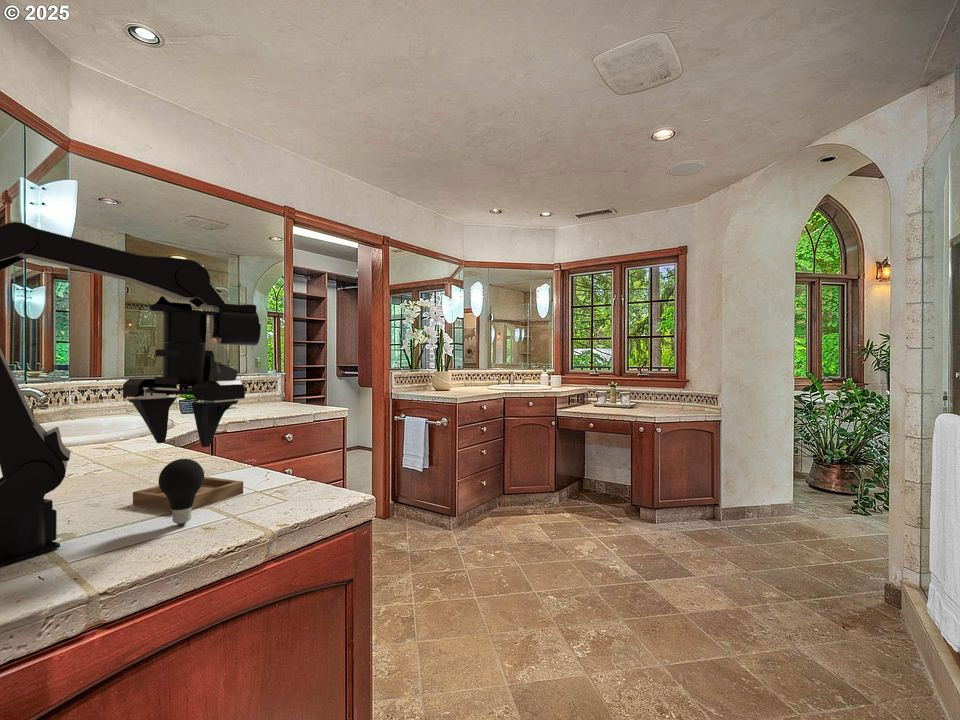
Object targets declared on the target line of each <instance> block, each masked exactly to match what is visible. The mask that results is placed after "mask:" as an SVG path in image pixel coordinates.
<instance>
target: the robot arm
mask: <svg viewBox="0 0 960 720" xmlns="http://www.w3.org/2000/svg"><path fill="white" fill-rule="evenodd" d="M27 259H31V260H34V261H40V262H44V263H48V264H52V265H57V266H62V267H64V268H65V267H66V268H70V269H75V270H78V271H84V272H88V273H90V274H91V273H92V274H97V275H102V276H106V277H109V278H113V279H114V278H115V279H118V280H123V281H128V282H131V283H134V284H137V285H139V286H142V287H144V288H146V289H147V290H151V291H153V292H154V293H157V294H160V295H161V296H159V297H158V299H157V300H156V302H155V303H154V304H151V305H150V306H148V307H147V309H146V311H147V312H149V313H151V314H153V313H155V314H162V346H161V347H162V349H155V350H154V351H155V353H154V355H155V357H162V359H161V360H162V361H161V362H162V363H161V376H154V377H137V378H136V377H135V378H128V379H127V380H126V381H125V382H124V383H123V384H122V397H127V398H129V397H130V398H129V399H128V402H129V403H131V404H132V405H133V406H134V407H135V409H136V410H137V412H138V413H139V415H140V417H141V418H142V419H143V421H144V423H145V424H146V426H147V428H148V431H150V433H151V435H152V437H153V438H154V440H155V443H157V444H164V443H166V439H167V434H168V425H169V424H168V423H169V414H170V413H169V412H170V408H171V406H172V405H173V404H174V403H175V401H176V400H177V398H178V397H177V396H173V395H185V396H187V395H188V396H193V397H194V398H195V400H196V402H195V401H194V402H192V403H191V407H192V411H193V416H194V420H195V425H196V429H197V434H198V435H197V436H198V439H199V442H200V446H201V448H209V447H210V446H211V444H212V443H213V439H214V438H215V437H214V436H215V434H216V432H217V430H218V426H219V425H220V424H219V423H220V422H221V420H222V417H223V416H224V413H225V412H226V411H227V410H229V409H230V407H232V406H233V405H237V404H238V403H239V400H241V399H246V385H245V384H244V382H242V381H241V380H238V379H237V376H238V373H239V370H237V369H235V368H233V367H231V366H228V365H226V364H224V363H221V362H218V361H215V354H214V352H213V350H207V328H208V333H209V338H210V339H214V340H216V343H217V345H221V346H222V345H227V346H228V345H229V346H253V347H254V346H257V345H258V343H259V341H260V338H261V331H262V330H261V329H262V328H261V327H262V326H261V325H262V324H261V323H260V319H259V314H258V312H257V305H256V304H249V303H248V304H234V303H233V304H232V303H226V302H225V301H224V300H223V299H222V297H221V296H220V295H219V294H218V291H216V289H215V288H214V286H213V285H212V284H211V277H210V274H209V271H208V270H207V269H206V268H205V266H204V265H203V264H202V263H200V262H198V261H195V260H192V259H186V258H180V257H179V258H178V257H172V256H154V255H153V256H151V255H142V254H137V253H132V252H129V251H124V250H120V249H118V248H117V249H116V248H114V247H109V246H105V245H102V244H97V243H94V242H90V241H86V240H82V239H78V238H74V237H71V236H67V235H63V234H59V233H56V232H52V231H47V230H43V229H39V228H36V227H33V226H31V225H29V224H27V223H24V222H20V221H19V222H18V221H13V222H7V223H5V224H3V225H1V226H0V272H1V271H2V272H3V270H6V269H8V268H9V267H12V266H14V265H15V264H18V263H20V262H22V261H26V260H27ZM166 297H168V298H170V299H173V300H176V301H180V302H174V301H173V302H172V301H169V300H167V298H166ZM181 301H182V302H181ZM185 302H189V303H185ZM192 306H195V307H196V308H197V309H193V307H192ZM198 309H199V310H198ZM205 310H207V311H205ZM207 317H209V321H207V320H208V318H207ZM207 323H208V324H207ZM207 325H208V327H207ZM178 386H179V387H178ZM197 401H198V402H197ZM71 453H72V452H71V450H70V449H68V448H67V447H66V446H65V443H63V440H62V436H61V432H60V427H58V426H56V427H54V428H52V429H49V430H48V431H46V430H45V428H43V426H41V424H40V423H39V422H38V421H37V420H36V418H35V416H34V414H33V412H32V410H31V408H30V406H29V404H28V402H27V400H26V399H25V396H24V394H23V392H22V390H21V387H20V386H19V384H18V382H17V379H16V378H15V375H14V373H13V371H12V369H11V368H10V365H9V363H8V361H7V359H6V357H5V355H4V352H3V350H2V349H1V347H0V471H1V475H2V476H1V477H0V567H2V566H6V565H8V564H12V563H15V562H18V561H22V560H23V559H28V558H30V557H34V556H37V555H40V554H43V553H47V552H49V551H52V550H55V549H59V548H60V547H61V542H56V540H57V538H58V537H57V530H58V529H57V526H58V525H57V522H58V520H57V519H58V518H57V517H58V514H57V510H56V509H54V508H53V507H54V506H53V500H52V499H48V498H45V496H46V495H47V494H48V493H51V492H52V491H54V490H55V489H57V487H59V486H60V485H61V483H62V482H63V481H64V479H65V476H66V473H67V472H66V471H67V466H68V462H69V461H70V459H71Z"/></svg>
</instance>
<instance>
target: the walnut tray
mask: <svg viewBox="0 0 960 720" xmlns="http://www.w3.org/2000/svg"><path fill="white" fill-rule="evenodd" d="M242 494H244V481H242V480H235V479H227V478H218V477H209V476H204V482H203V484H202V486H201V487H200V489H199V490H198V492H197V493H196V495H195V498H194V503H193V506H192V508H191V511H193V510H196V509H199V508H203V507H206V506H209V505H212V504H214V503H218V502H221V501H225V500H226V499H230V498H233V497H235V496H236V497H237V496H238V495H242ZM132 506H138V507H142V508H143V507H144V508H150V509H155V510H156V509H157V510H162V511H169V512H172V510H171V507H170V503H169V500H168V498H167V496H166V495H165V494H164V493H163V492H162V491H161V489H160V487H159V485H155V486H151V487H147V488H143V489H139V490H136V491H132Z"/></svg>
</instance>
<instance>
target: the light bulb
mask: <svg viewBox="0 0 960 720" xmlns="http://www.w3.org/2000/svg"><path fill="white" fill-rule="evenodd" d="M204 477H205V471H204V469H203V467H202V466H201V464H200V463H199V462H197V461H196V460H193V459H191V458H190V459H189V458H178V459H175V460H172V461H171V462H169V463H168V464H166V465H165V466H164V467H163V469H162V470H161V471H160V473H159V476H158V486H159V487H160V489H161V491H162V492H163V493H164V494H165V495H166V496H167V498H168V500H169V503H170V507H171V510H172V511H171V512H172V513H171V514H172V516H171V518H172V519H171V520H172V523H174V524H176V525H178V526H184V525H186V524H187V523H188V522H189V521H190V520H191V519H192V510H191V508H192V506H193V503H194V498H195V495H196V493H197V492H198V490H199V489H200V487H201V486H202V484H203V482H204Z"/></svg>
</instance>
